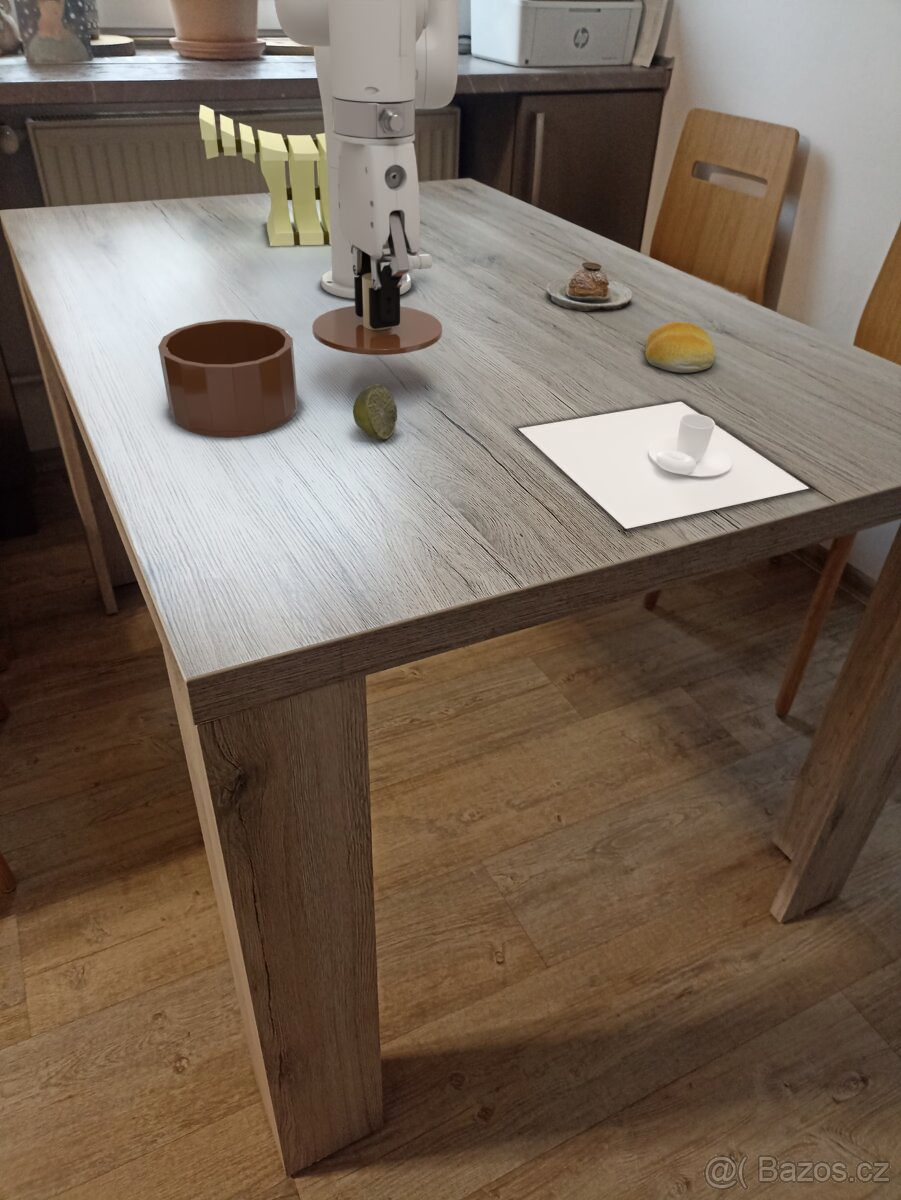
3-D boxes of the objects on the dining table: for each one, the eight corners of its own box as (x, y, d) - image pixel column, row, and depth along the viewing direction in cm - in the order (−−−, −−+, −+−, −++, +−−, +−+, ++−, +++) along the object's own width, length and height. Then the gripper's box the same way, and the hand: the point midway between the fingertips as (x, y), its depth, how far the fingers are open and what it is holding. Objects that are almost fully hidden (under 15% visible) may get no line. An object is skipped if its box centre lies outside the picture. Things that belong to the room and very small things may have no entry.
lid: (408, 309, 98) (409, 252, 94) (464, 349, 88) (467, 288, 84) (295, 324, 92) (290, 265, 89) (341, 369, 83) (338, 304, 79)
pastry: (550, 281, 125) (554, 249, 122) (633, 289, 123) (638, 257, 121) (541, 307, 116) (544, 273, 113) (630, 317, 114) (635, 281, 111)
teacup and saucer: (672, 488, 77) (681, 448, 75) (624, 449, 83) (631, 411, 81) (749, 472, 80) (760, 433, 78) (698, 436, 86) (706, 398, 84)
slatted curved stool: (389, 218, 151) (388, 103, 140) (404, 243, 139) (405, 118, 128) (215, 221, 145) (200, 101, 135) (215, 247, 133) (199, 117, 122)
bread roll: (644, 371, 99) (650, 338, 97) (644, 344, 106) (649, 312, 104) (716, 379, 98) (724, 345, 96) (711, 350, 105) (718, 318, 103)
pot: (275, 377, 94) (269, 313, 90) (314, 423, 86) (309, 355, 81) (159, 395, 89) (146, 328, 85) (188, 446, 81) (176, 375, 76)
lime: (395, 423, 86) (395, 375, 83) (401, 445, 82) (401, 396, 79) (351, 425, 86) (349, 377, 83) (355, 447, 82) (353, 398, 79)
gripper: (451, 133, 74) (444, 341, 85) (376, 107, 85) (379, 293, 96) (371, 137, 71) (375, 352, 82) (304, 109, 82) (316, 301, 93)
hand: (377, 318), depth 89 cm, fingers closed on lid, 3 cm apart
